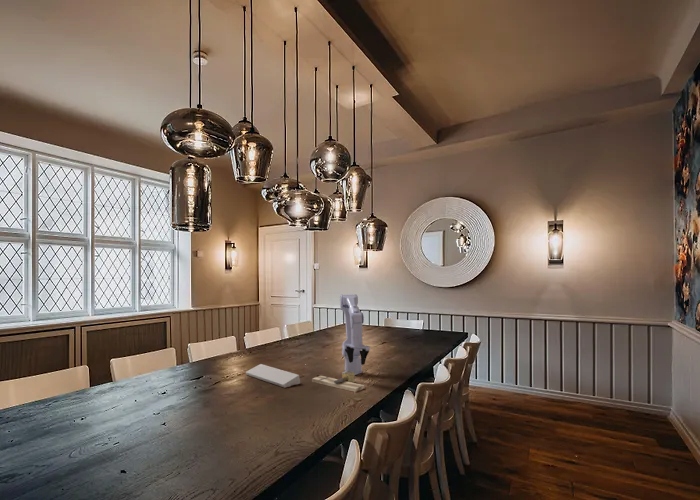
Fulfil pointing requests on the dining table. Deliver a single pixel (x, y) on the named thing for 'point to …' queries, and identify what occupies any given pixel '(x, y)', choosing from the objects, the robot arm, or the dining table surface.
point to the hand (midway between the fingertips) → (357, 363)
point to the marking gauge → (346, 377)
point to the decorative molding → (274, 375)
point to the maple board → (341, 385)
